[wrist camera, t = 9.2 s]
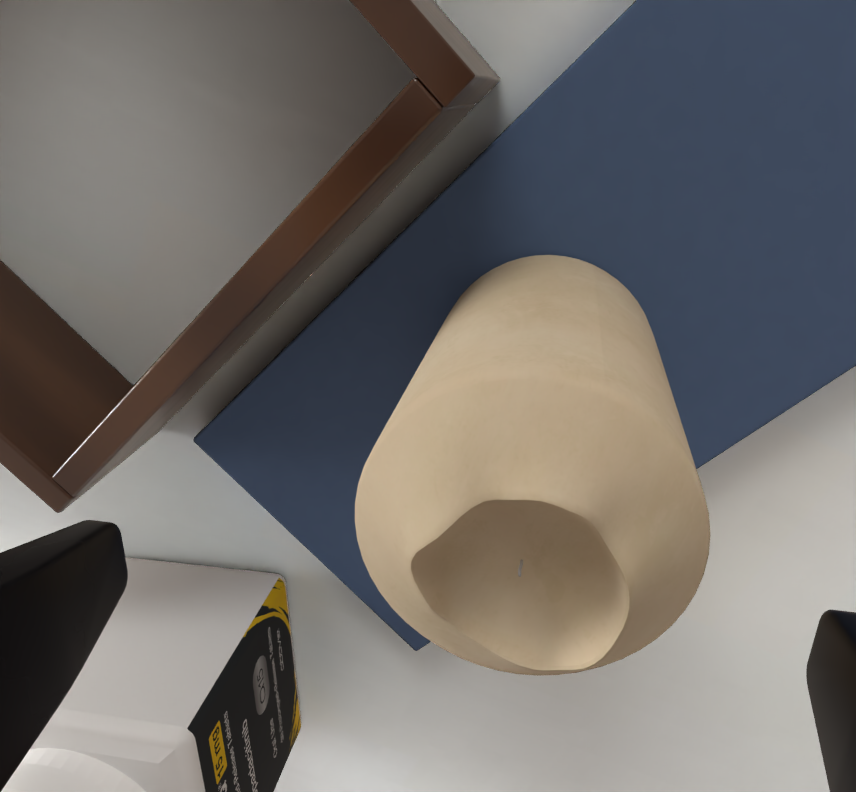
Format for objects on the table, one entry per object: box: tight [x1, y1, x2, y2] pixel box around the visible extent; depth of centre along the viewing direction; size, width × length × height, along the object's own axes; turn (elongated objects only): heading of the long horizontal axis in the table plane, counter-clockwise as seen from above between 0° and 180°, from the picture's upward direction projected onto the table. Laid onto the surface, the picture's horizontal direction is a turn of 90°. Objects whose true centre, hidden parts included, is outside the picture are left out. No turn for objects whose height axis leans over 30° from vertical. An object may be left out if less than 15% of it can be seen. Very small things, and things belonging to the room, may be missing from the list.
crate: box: [0, 0, 500, 513], centre depth 17 cm, size 15×15×5 cm
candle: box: [355, 255, 710, 675], centre depth 14 cm, size 6×6×10 cm
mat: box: [194, 0, 856, 651], centre depth 19 cm, size 20×10×1 cm, turn 134°
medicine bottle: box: [1, 557, 301, 792], centre depth 21 cm, size 7×7×12 cm
